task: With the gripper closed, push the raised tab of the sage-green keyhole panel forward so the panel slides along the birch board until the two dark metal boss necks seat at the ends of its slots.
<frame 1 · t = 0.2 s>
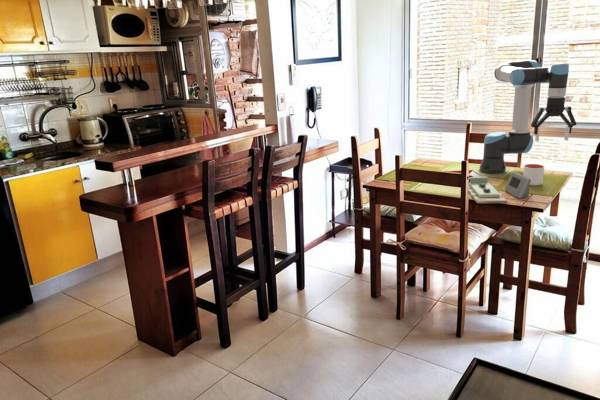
hand: (551, 140, 225), 28 cm above the table, fingers open, 13 cm apart
cup: (532, 184, 251), on the table
panel: (483, 186, 239), point 4 cm above the table, slide at 0.0 cm
digital clock: (516, 195, 235), on the table
board: (484, 194, 238), on the table
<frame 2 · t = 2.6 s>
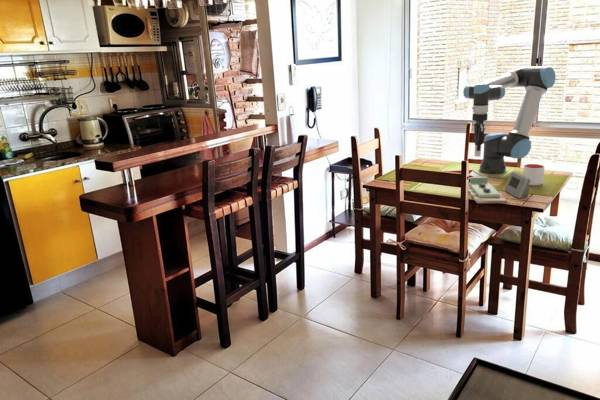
hand: (477, 156, 250), 16 cm above the table, fingers closed
nothing on the table moved.
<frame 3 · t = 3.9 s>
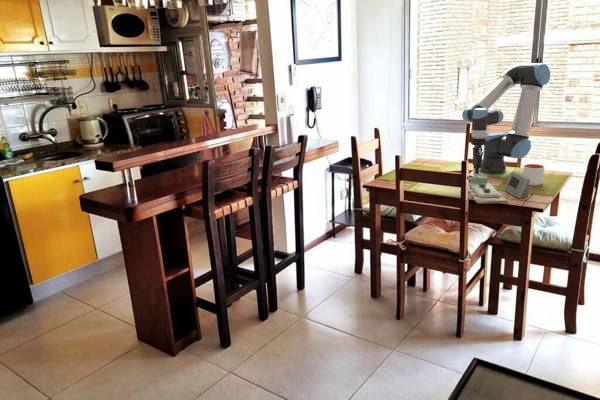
hand: (475, 178, 254), 3 cm above the table, fingers closed
nothing on the table moved.
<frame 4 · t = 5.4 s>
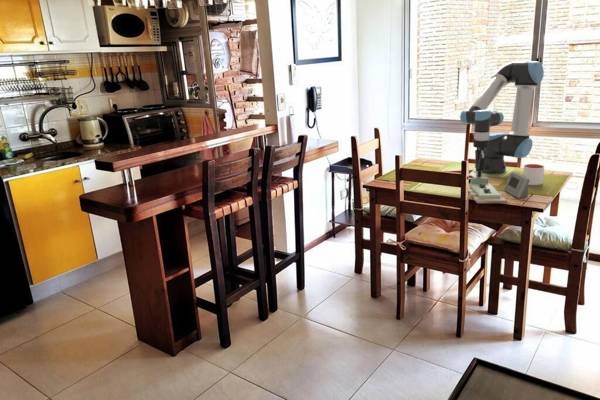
hand: (478, 182, 249), 3 cm above the table, fingers closed
panel: (484, 187, 238), point 4 cm above the table, slide at 1.3 cm, touching gripper
everything else where it was.
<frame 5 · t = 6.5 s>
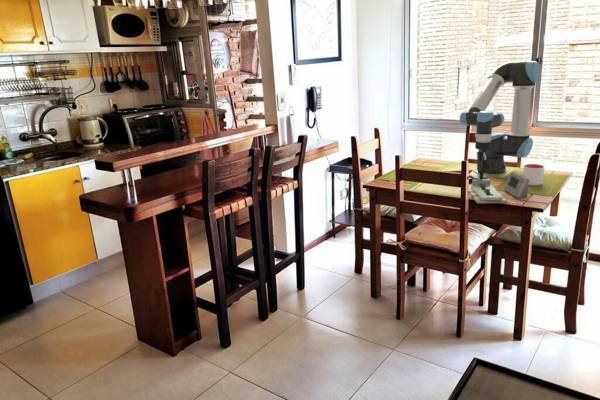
hand: (480, 184, 245), 3 cm above the table, fingers closed
panel: (486, 189, 234), point 4 cm above the table, slide at 5.1 cm, touching gripper
everything else where it was.
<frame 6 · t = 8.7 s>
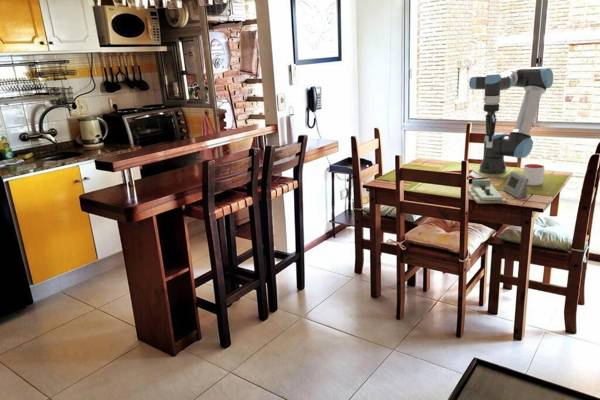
hand: (489, 147, 247), 21 cm above the table, fingers closed
panel: (486, 189, 234), point 4 cm above the table, slide at 5.0 cm
everything else where it was.
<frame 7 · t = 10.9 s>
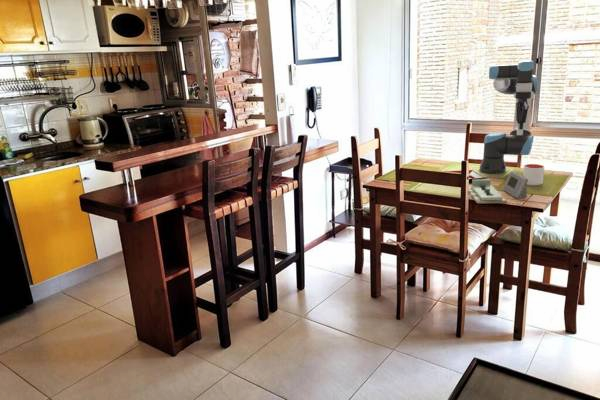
hand: (519, 134, 250), 26 cm above the table, fingers closed
at the end: panel slide at 5.0 cm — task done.
